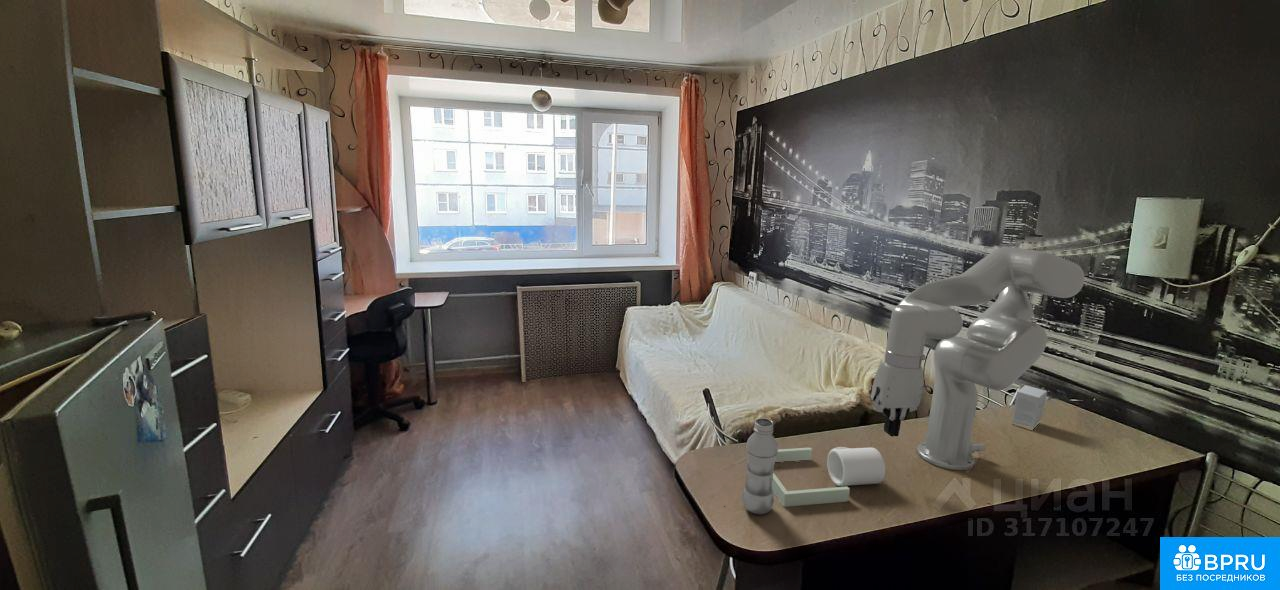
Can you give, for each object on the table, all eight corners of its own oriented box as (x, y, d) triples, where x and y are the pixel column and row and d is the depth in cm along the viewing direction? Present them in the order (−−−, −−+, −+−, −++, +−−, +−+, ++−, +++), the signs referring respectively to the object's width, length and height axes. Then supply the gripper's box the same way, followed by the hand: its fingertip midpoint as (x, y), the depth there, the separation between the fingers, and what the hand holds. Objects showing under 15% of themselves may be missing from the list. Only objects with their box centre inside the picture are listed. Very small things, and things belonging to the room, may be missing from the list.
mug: (883, 490, 119) (887, 458, 117) (842, 493, 117) (846, 461, 116) (854, 462, 131) (858, 433, 129) (817, 464, 129) (820, 435, 127)
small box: (1018, 417, 158) (1024, 384, 156) (1040, 423, 154) (1047, 390, 152) (1010, 424, 153) (1016, 391, 151) (1033, 431, 149) (1040, 397, 146)
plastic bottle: (778, 508, 111) (786, 421, 107) (762, 523, 106) (770, 433, 102) (751, 495, 116) (758, 412, 111) (735, 509, 111) (741, 422, 106)
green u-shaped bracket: (809, 458, 132) (810, 447, 131) (848, 501, 114) (849, 489, 114) (752, 462, 129) (753, 451, 129) (783, 506, 112) (784, 494, 111)
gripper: (921, 353, 124) (908, 425, 128) (863, 354, 121) (852, 427, 125) (943, 364, 117) (930, 440, 121) (883, 365, 114) (871, 442, 118)
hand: (890, 433), depth 123 cm, fingers closed
